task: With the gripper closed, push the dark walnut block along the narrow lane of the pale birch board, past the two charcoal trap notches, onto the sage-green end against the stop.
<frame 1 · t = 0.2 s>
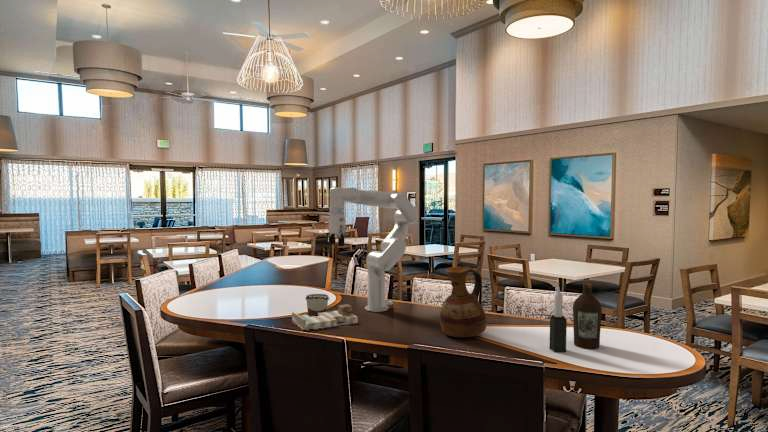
hand: (336, 245, 219), 36 cm above the table, tool pointing down, fingers open, 9 cm apart
ceramic pitcher: (462, 335, 188), on the table
trap board: (325, 322, 206), on the table
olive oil: (586, 345, 174), on the table
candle: (557, 350, 168), on the table
walnut block: (344, 313, 211), point 3 cm above the table, touching trap board
food container: (318, 314, 222), on the table
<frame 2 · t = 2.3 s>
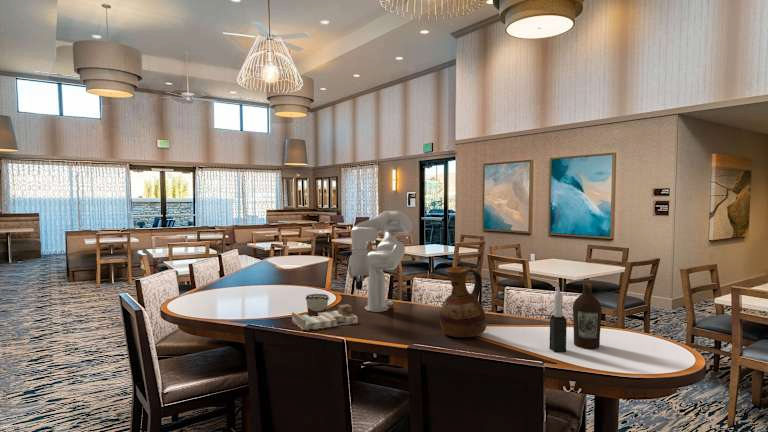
hand: (359, 289, 214), 14 cm above the table, tool pointing down, fingers closed
nothing on the table moved.
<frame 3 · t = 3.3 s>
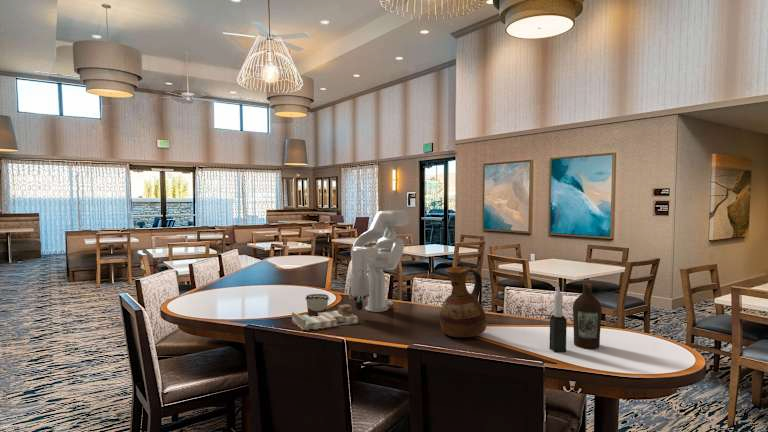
hand: (359, 309, 214), 4 cm above the table, tool pointing down, fingers closed
nothing on the table moved.
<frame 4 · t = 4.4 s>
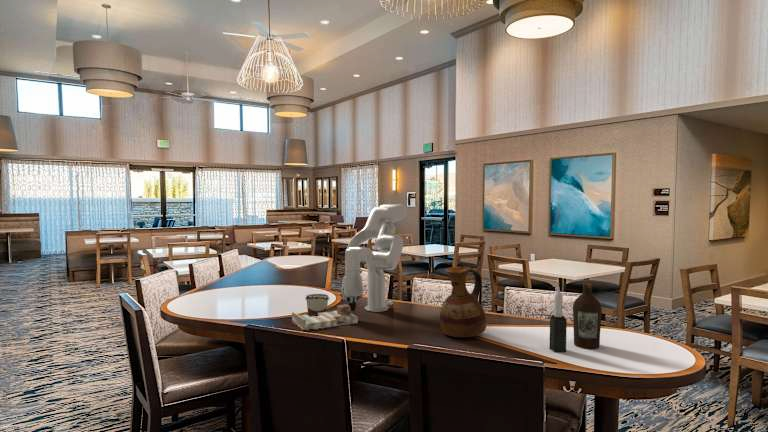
hand: (352, 310, 212), 4 cm above the table, tool pointing down, fingers closed
walnut block: (343, 313, 210), point 3 cm above the table, touching gripper, trap board
everything else where it was.
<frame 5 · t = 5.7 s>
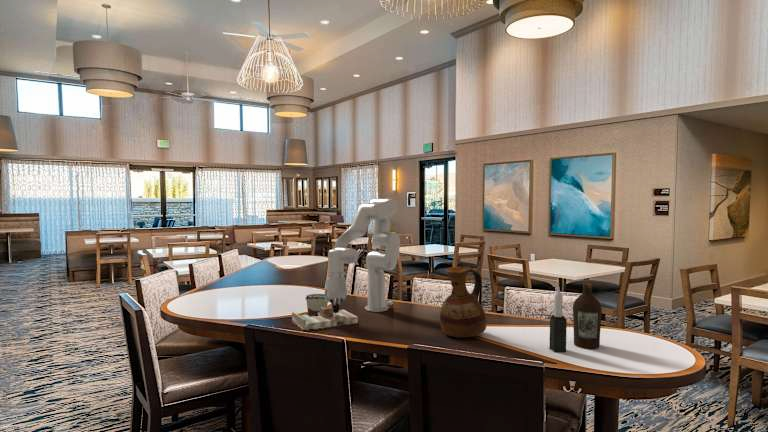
hand: (335, 312, 208), 4 cm above the table, tool pointing down, fingers closed
walnut block: (326, 316, 206), point 3 cm above the table, touching gripper
everything else where it was.
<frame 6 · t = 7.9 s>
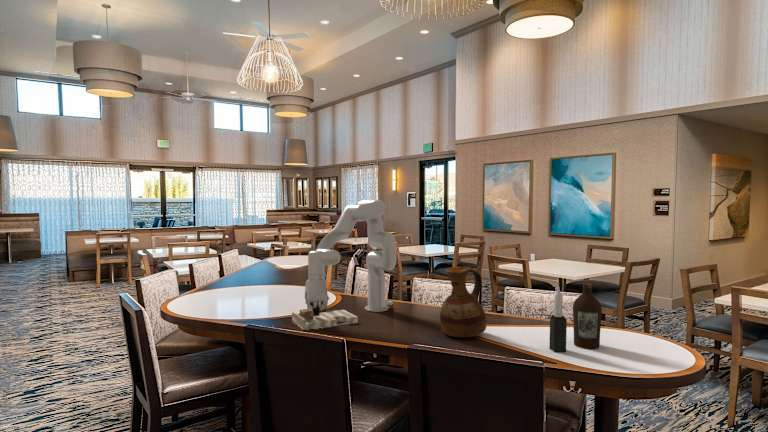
hand: (316, 315, 203), 4 cm above the table, tool pointing down, fingers closed
walnut block: (306, 318, 201), point 3 cm above the table, touching gripper, trap board
everything else where it was.
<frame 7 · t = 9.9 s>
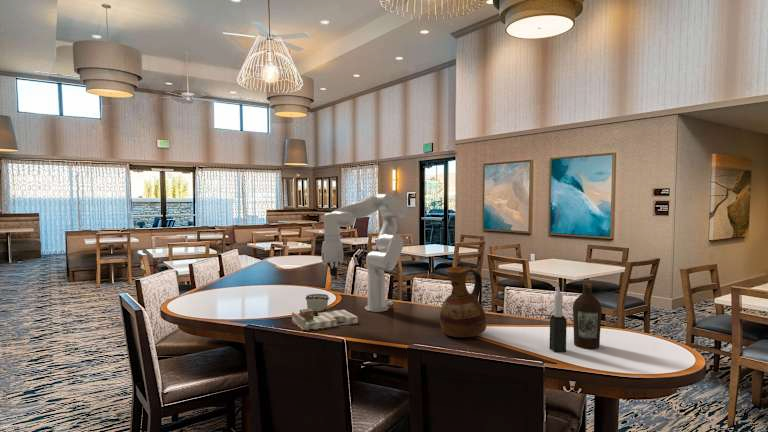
hand: (333, 275, 209), 22 cm above the table, tool pointing down, fingers closed
walnut block: (306, 318, 201), point 3 cm above the table, touching trap board
everything else where it was.
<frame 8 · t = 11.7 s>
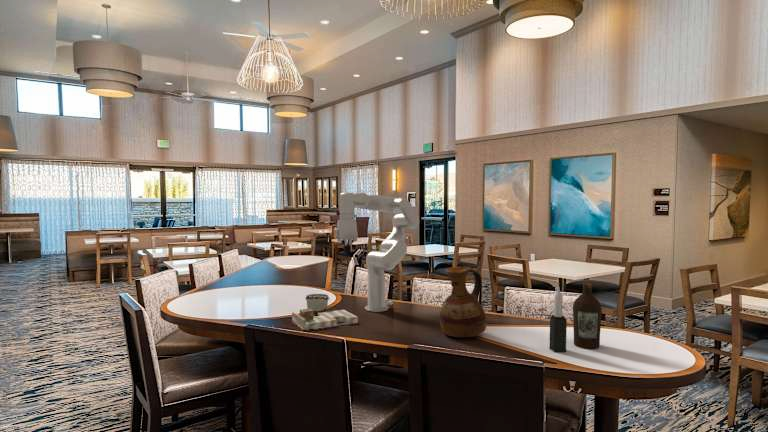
hand: (347, 253, 217), 32 cm above the table, tool pointing down, fingers closed
nothing on the table moved.
at the end: walnut block 0.6 cm from the target spot on the trap board, point 3.0 cm above the trap board's base; walnut block tilted 0° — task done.
